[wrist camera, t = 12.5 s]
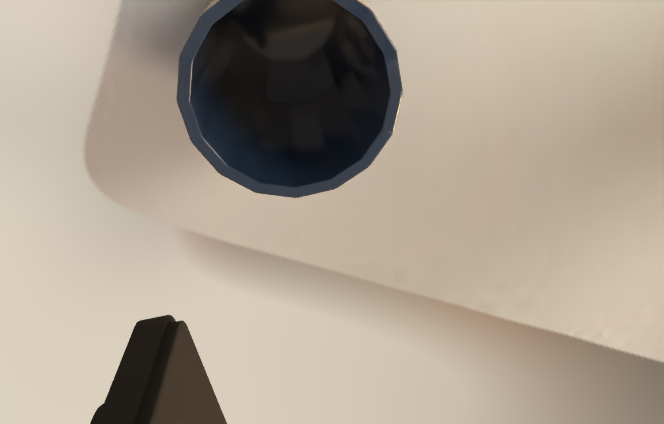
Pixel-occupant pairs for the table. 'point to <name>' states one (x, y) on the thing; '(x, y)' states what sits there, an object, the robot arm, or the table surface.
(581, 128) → the table surface
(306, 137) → the cup
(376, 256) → the table surface
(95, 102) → the table surface
